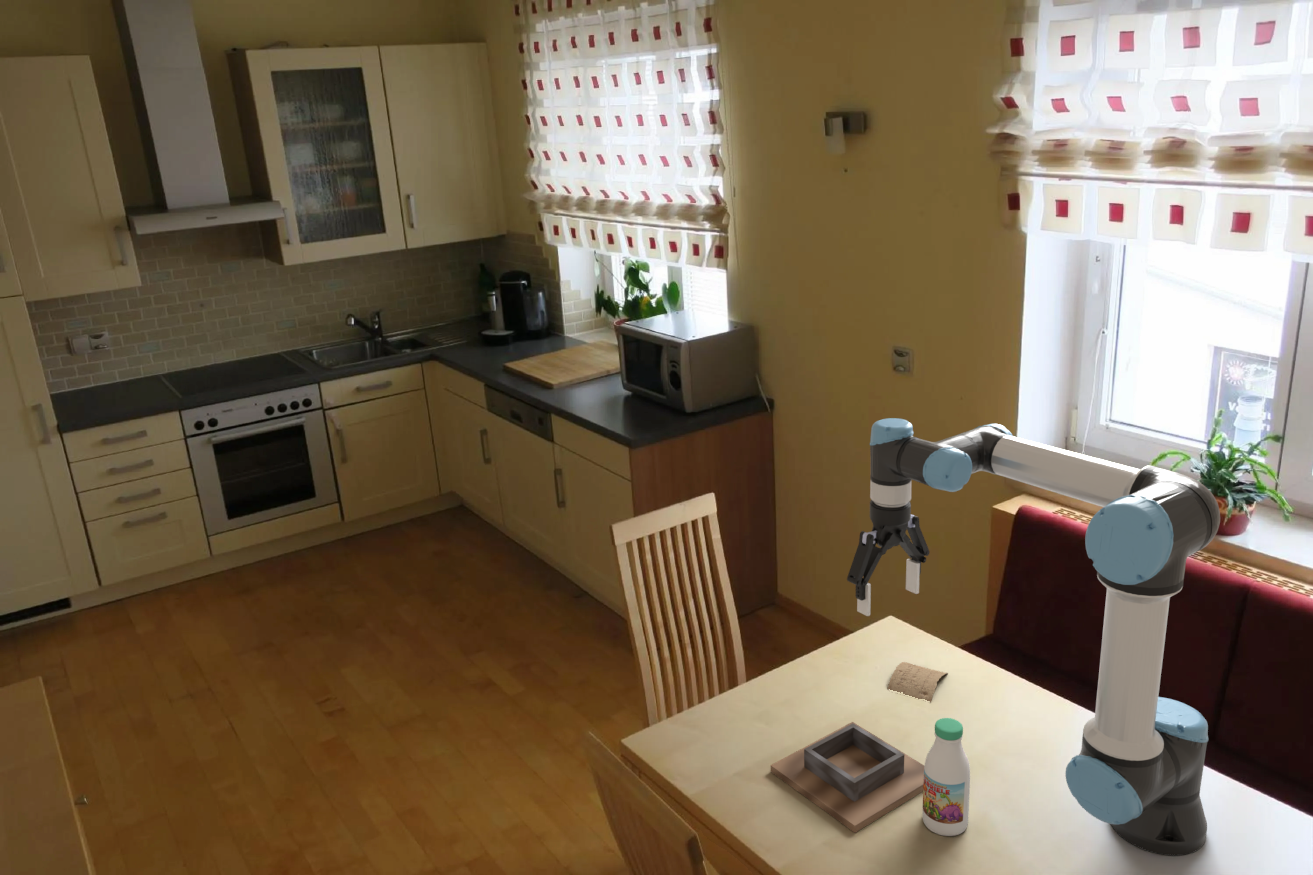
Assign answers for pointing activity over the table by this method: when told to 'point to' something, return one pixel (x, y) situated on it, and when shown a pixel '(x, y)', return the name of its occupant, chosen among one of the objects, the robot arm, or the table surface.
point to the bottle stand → (852, 775)
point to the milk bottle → (946, 781)
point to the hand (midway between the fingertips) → (888, 602)
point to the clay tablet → (915, 680)
